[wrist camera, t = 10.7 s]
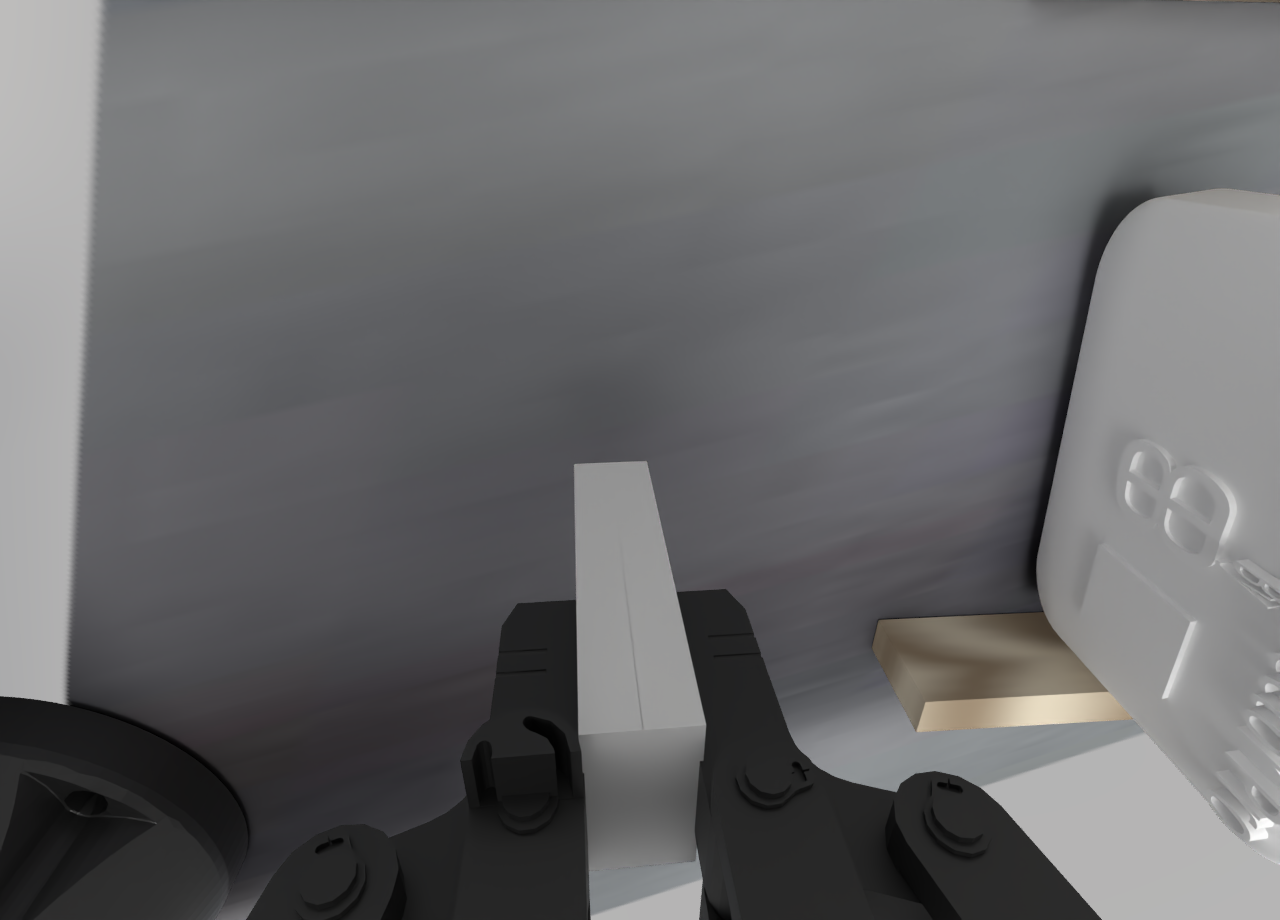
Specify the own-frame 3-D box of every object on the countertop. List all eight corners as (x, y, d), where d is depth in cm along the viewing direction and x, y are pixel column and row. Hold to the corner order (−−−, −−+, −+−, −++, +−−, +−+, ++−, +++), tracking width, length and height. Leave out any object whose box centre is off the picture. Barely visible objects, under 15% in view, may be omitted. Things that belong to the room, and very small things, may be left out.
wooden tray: (871, 648, 26) (929, 757, 22) (1047, -82, 15) (1236, -159, 11) (1253, 629, 27) (1382, 729, 23) (1677, -64, 16) (2080, -126, 12)
